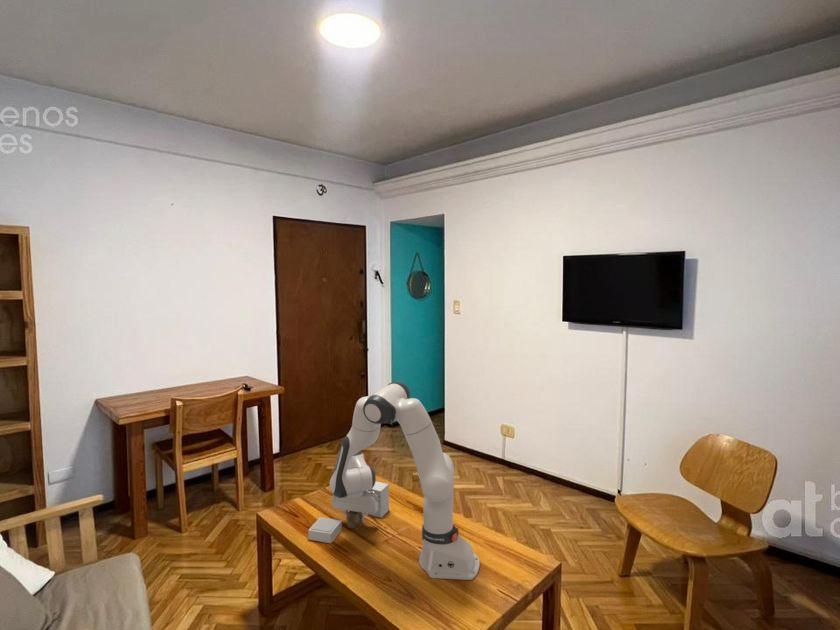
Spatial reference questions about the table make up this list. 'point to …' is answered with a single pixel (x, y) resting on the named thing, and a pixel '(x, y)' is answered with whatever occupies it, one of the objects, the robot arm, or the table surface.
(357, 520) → the walnut block
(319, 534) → the plinth
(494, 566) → the table surface
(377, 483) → the supplement box
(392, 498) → the table surface
